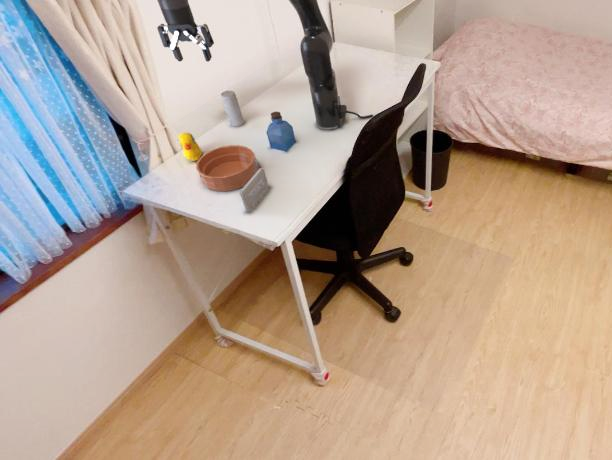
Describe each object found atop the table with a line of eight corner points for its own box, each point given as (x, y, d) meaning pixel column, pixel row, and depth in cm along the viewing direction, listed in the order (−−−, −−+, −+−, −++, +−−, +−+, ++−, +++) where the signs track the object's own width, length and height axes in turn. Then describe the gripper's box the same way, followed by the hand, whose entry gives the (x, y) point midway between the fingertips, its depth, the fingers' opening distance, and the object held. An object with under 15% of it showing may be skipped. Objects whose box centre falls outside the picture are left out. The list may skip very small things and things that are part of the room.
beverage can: (240, 128, 158) (230, 97, 149) (228, 126, 158) (217, 96, 150) (246, 121, 161) (237, 91, 153) (235, 119, 162) (225, 89, 153)
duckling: (205, 166, 141) (194, 139, 134) (187, 170, 139) (175, 143, 132) (202, 148, 148) (191, 122, 141) (185, 151, 147) (173, 125, 140)
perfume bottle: (296, 141, 151) (288, 111, 143) (286, 151, 147) (278, 120, 139) (280, 138, 153) (272, 107, 144) (270, 148, 148) (262, 116, 140)
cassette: (265, 187, 133) (259, 166, 128) (271, 188, 133) (264, 167, 128) (245, 212, 125) (237, 191, 120) (251, 213, 125) (243, 193, 119)
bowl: (264, 159, 144) (260, 145, 140) (250, 192, 132) (245, 177, 128) (213, 159, 144) (207, 145, 140) (194, 192, 131) (187, 177, 128)
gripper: (142, 8, 119) (166, 65, 130) (194, 8, 119) (214, 65, 130) (154, -1, 124) (176, 55, 135) (203, -1, 124) (221, 55, 135)
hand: (194, 60), depth 133 cm, fingers open, 8 cm apart
